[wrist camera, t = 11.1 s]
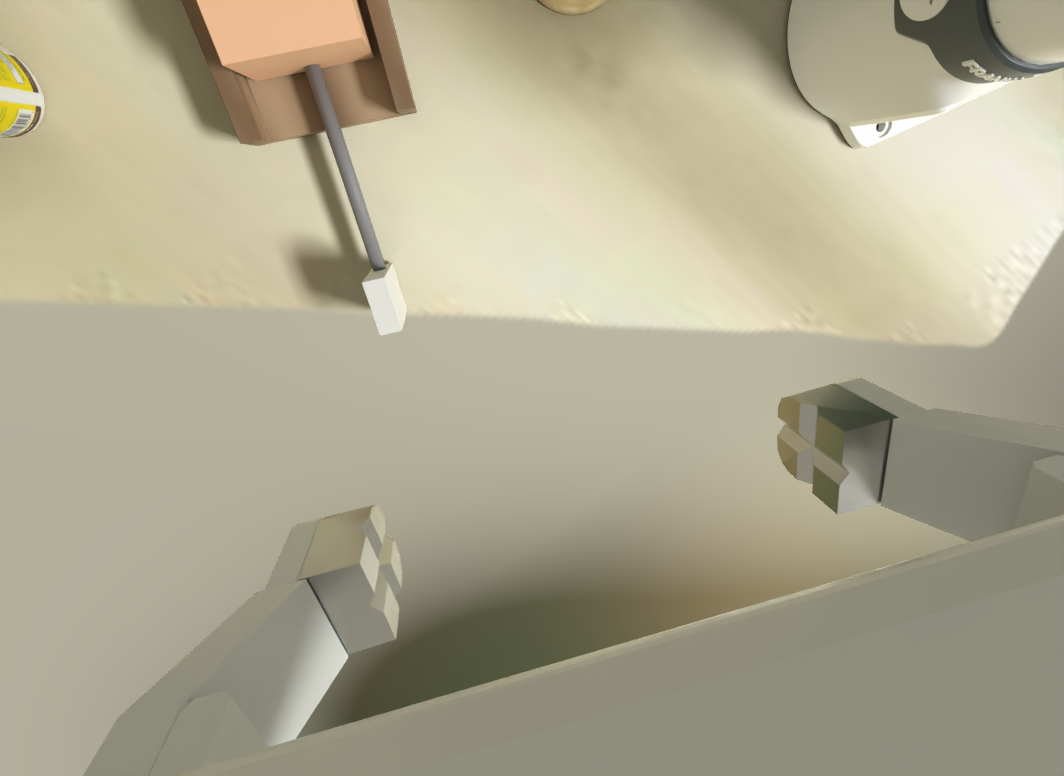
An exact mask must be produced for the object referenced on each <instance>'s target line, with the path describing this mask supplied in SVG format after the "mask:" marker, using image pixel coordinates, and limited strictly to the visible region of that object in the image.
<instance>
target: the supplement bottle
mask: <svg viewBox="0 0 1064 776" xmlns="http://www.w3.org/2000/svg"><path fill="white" fill-rule="evenodd" d="M44 110H45V103H44V97H43V93H42V90H41V88H40V85H39V83H38V81H37V80H36V78H35V76H34V75H33V73H32V72H31V71H30V69H29V68H28V67H27V66H26V65H25V64H24V63H23V62H22V61H21V60H20V59H19V58H18V57H17V56H16V55H14V54H13V53H12V52H10V51H9V50H7V49H6V48H4V47H2V46H0V137H19V136H23V135H26V134H28V133H30V132H32V131H33V130H35V129H36V128H37V127H38V126H39V124H40V123H41V121H42V118H43V116H44Z"/></svg>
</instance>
